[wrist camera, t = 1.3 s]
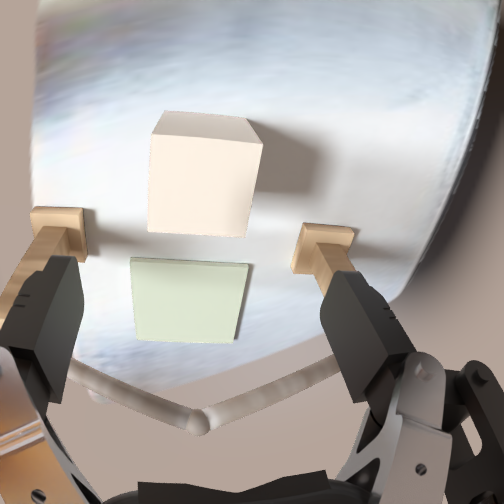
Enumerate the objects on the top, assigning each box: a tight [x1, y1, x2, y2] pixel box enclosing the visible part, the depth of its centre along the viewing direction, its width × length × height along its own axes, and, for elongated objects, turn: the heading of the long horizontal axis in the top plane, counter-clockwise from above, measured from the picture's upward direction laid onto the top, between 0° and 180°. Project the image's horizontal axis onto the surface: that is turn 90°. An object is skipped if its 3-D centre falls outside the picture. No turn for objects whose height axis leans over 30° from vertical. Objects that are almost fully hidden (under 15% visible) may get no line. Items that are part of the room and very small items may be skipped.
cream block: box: [147, 111, 263, 238], centre depth 17 cm, size 5×5×6 cm
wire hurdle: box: [0, 207, 356, 436], centre depth 17 cm, size 4×24×15 cm, turn 80°
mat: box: [130, 257, 249, 343], centre depth 27 cm, size 9×9×1 cm
